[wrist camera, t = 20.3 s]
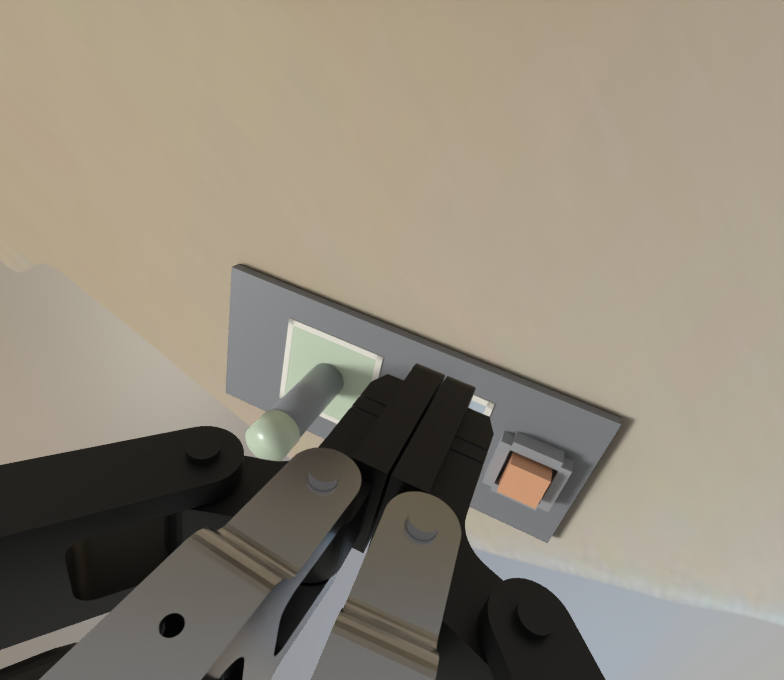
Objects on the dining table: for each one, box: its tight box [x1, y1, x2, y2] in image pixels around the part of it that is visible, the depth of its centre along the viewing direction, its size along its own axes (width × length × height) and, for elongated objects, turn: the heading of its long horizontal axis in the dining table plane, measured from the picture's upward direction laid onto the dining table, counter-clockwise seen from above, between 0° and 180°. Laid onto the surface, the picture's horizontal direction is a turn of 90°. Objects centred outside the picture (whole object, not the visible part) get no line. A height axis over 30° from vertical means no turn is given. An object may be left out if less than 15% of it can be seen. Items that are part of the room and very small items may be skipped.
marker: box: [246, 363, 344, 461], centre depth 46 cm, size 4×4×11 cm
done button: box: [497, 452, 553, 509], centre depth 45 cm, size 4×4×2 cm
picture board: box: [226, 264, 621, 543], centre depth 49 cm, size 38×16×3 cm, turn 77°
